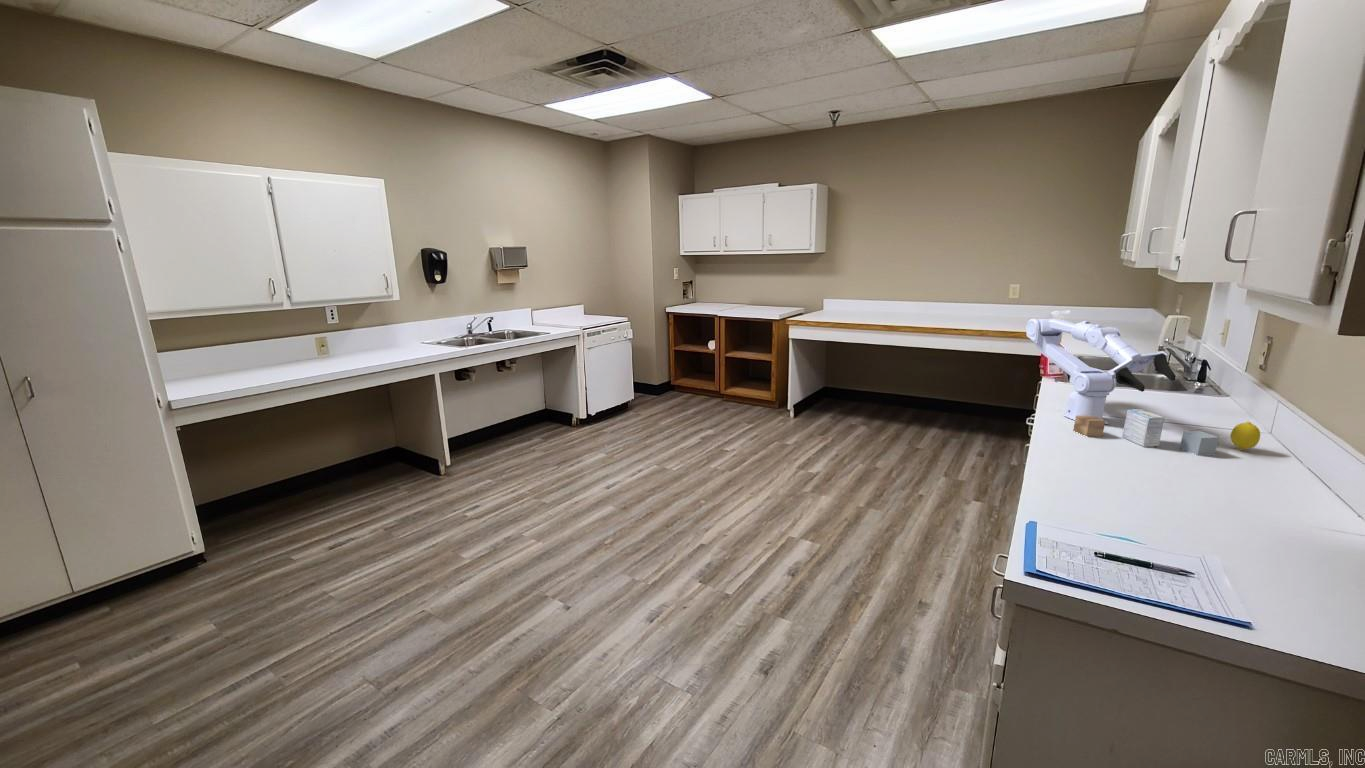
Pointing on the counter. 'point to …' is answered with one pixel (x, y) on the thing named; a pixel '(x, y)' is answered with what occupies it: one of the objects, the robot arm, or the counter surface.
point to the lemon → (1245, 435)
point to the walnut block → (1089, 425)
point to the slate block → (1199, 443)
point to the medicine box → (1143, 427)
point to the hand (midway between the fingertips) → (1158, 383)
